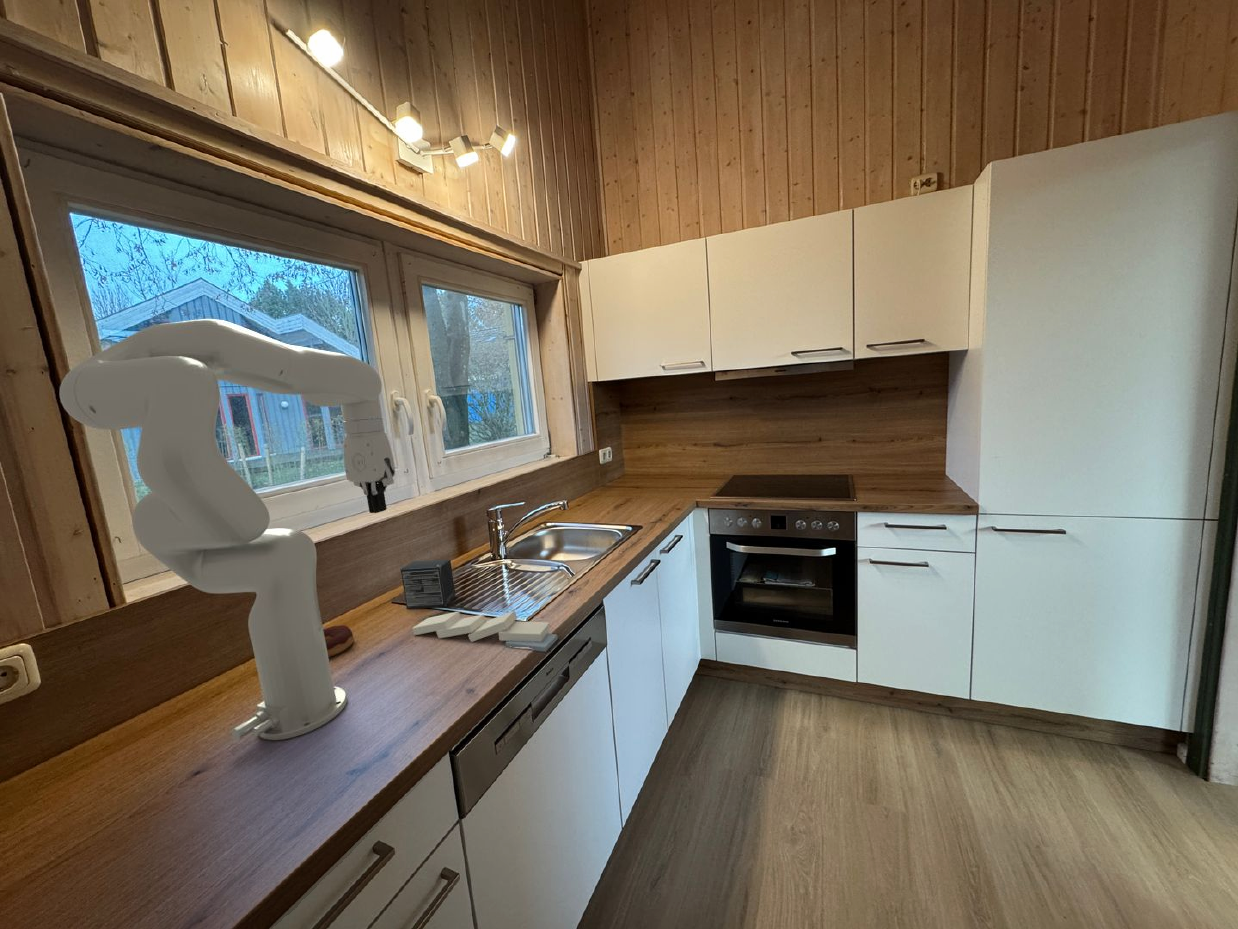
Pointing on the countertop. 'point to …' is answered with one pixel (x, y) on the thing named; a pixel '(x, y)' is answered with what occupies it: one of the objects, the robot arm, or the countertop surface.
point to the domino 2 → (462, 626)
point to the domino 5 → (535, 643)
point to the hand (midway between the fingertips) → (378, 511)
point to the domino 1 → (436, 623)
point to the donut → (337, 639)
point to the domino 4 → (525, 631)
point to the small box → (428, 584)
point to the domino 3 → (493, 626)
